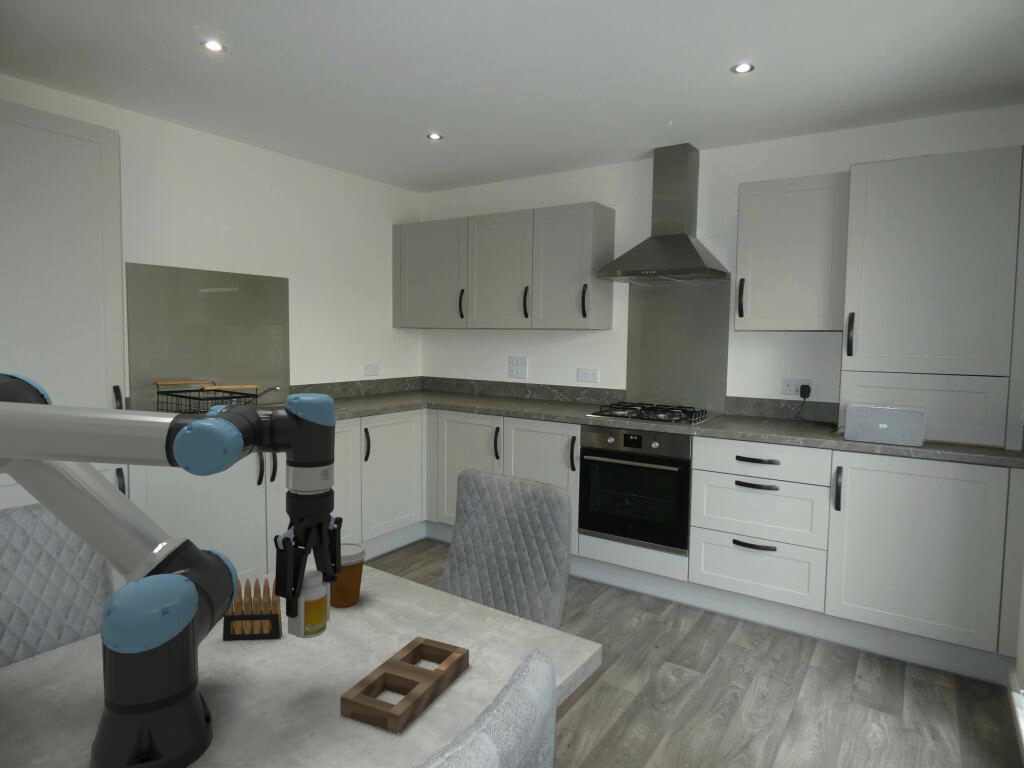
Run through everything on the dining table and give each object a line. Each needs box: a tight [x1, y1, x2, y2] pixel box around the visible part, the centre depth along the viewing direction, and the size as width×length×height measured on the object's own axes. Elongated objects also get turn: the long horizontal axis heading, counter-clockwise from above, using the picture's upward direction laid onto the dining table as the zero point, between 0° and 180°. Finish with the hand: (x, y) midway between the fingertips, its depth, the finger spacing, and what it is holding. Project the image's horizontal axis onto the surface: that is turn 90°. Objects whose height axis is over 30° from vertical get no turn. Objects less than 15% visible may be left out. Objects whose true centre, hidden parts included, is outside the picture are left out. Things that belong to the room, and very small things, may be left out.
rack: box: [339, 635, 470, 734], centre depth 106 cm, size 22×11×3 cm, turn 155°
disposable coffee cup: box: [330, 542, 367, 609], centre depth 139 cm, size 10×10×12 cm
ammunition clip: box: [222, 577, 283, 642], centre depth 122 cm, size 11×2×12 cm, turn 97°
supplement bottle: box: [295, 569, 327, 639], centre depth 104 cm, size 5×5×10 cm
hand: (309, 626), depth 104 cm, fingers closed on supplement bottle, 5 cm apart
